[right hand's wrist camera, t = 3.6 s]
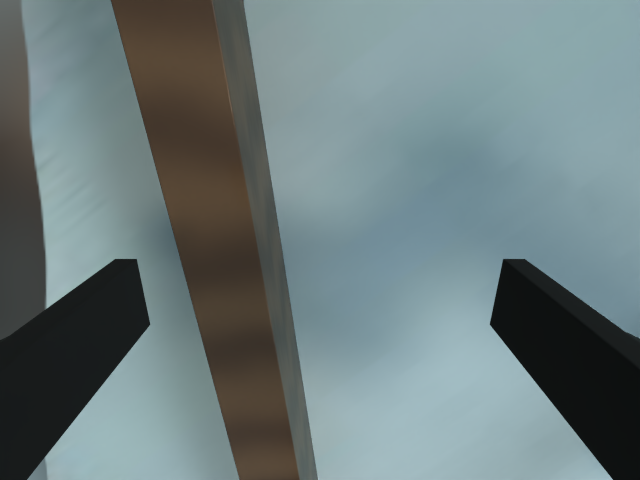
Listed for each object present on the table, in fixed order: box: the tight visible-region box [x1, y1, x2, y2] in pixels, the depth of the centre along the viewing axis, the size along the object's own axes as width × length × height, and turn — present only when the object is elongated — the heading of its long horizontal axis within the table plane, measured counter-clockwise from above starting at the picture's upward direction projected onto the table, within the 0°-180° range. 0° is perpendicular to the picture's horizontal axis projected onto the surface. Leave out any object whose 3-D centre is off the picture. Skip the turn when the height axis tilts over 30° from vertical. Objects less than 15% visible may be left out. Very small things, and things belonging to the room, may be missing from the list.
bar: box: [111, 0, 318, 480], centre depth 30 cm, size 80×5×8 cm, turn 6°
